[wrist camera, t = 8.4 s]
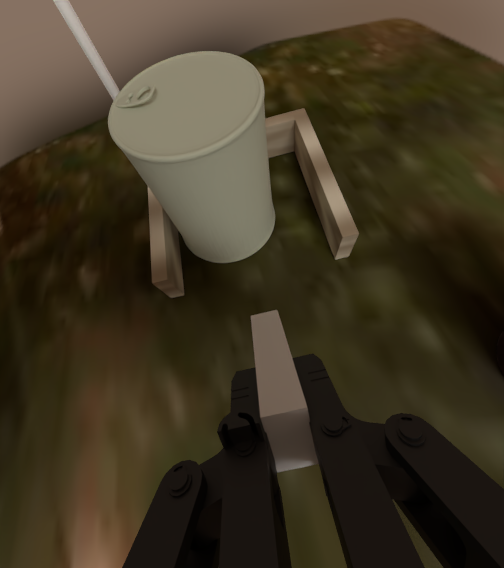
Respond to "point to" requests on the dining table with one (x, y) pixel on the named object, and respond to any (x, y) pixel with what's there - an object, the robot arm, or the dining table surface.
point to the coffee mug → (501, 352)
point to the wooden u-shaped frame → (280, 140)
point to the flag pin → (87, 45)
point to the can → (201, 149)
